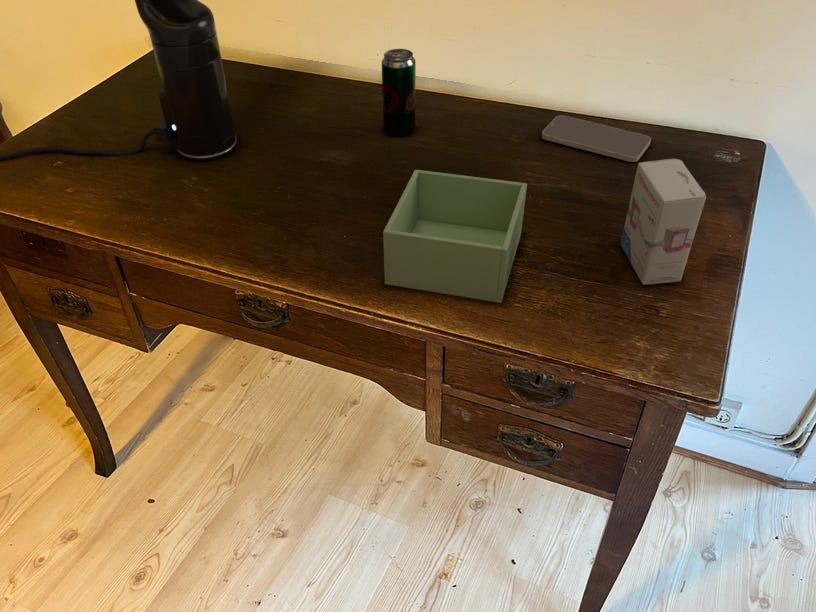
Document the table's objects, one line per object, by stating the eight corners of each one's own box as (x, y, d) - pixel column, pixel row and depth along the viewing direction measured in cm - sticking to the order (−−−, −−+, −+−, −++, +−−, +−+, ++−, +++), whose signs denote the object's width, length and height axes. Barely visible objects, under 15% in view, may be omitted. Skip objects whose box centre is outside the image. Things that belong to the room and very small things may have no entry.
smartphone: (636, 158, 105) (539, 133, 111) (635, 164, 106) (538, 139, 112) (653, 137, 110) (558, 114, 116) (651, 142, 110) (558, 119, 116)
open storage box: (384, 284, 89) (382, 231, 83) (414, 220, 98) (414, 169, 93) (501, 303, 85) (507, 249, 80) (520, 234, 95) (527, 183, 90)
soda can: (412, 138, 114) (412, 61, 106) (380, 136, 115) (378, 60, 107) (417, 123, 118) (417, 48, 109) (386, 121, 119) (384, 46, 110)
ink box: (616, 244, 93) (637, 159, 84) (655, 240, 93) (679, 155, 84) (640, 286, 86) (665, 199, 78) (682, 282, 87) (711, 195, 78)
